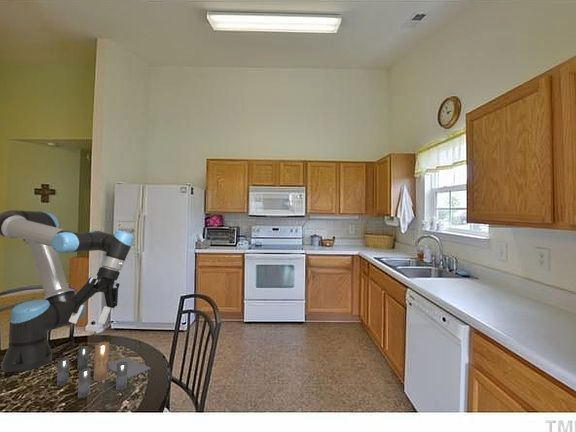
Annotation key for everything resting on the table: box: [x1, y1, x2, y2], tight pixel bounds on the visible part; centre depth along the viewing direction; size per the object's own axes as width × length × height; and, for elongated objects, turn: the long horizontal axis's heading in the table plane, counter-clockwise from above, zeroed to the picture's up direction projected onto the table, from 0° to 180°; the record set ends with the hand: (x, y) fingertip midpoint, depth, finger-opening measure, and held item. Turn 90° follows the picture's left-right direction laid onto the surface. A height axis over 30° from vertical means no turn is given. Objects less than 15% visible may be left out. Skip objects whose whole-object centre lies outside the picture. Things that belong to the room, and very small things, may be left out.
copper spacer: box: [93, 341, 110, 382], centre depth 111 cm, size 4×4×12 cm
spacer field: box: [56, 345, 128, 399], centre depth 107 cm, size 28×12×8 cm, turn 59°
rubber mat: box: [108, 357, 152, 380], centre depth 119 cm, size 17×9×1 cm, turn 59°
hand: (87, 323), depth 118 cm, fingers open, 13 cm apart
